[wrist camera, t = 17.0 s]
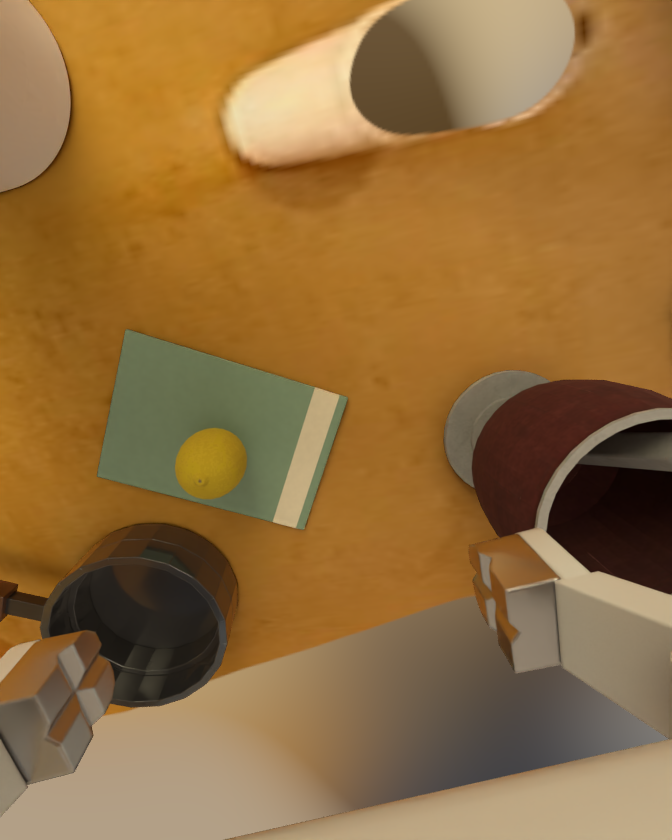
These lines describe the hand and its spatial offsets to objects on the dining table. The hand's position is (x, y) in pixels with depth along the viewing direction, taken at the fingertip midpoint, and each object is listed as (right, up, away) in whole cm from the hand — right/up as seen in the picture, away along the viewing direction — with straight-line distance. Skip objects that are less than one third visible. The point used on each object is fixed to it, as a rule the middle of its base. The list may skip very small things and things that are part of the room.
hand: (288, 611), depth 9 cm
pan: (-17, -14, +33) cm, 39 cm away
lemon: (-10, +2, +29) cm, 30 cm away
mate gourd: (+18, +4, +30) cm, 36 cm away
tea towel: (-10, +3, +29) cm, 31 cm away
